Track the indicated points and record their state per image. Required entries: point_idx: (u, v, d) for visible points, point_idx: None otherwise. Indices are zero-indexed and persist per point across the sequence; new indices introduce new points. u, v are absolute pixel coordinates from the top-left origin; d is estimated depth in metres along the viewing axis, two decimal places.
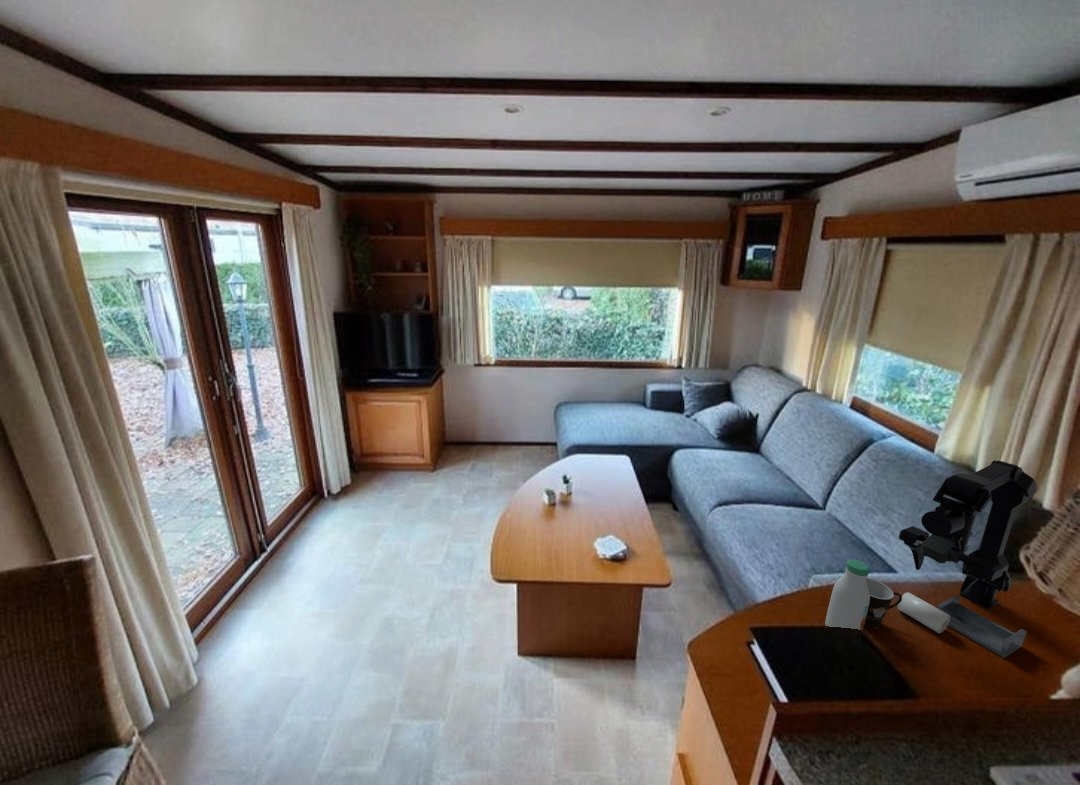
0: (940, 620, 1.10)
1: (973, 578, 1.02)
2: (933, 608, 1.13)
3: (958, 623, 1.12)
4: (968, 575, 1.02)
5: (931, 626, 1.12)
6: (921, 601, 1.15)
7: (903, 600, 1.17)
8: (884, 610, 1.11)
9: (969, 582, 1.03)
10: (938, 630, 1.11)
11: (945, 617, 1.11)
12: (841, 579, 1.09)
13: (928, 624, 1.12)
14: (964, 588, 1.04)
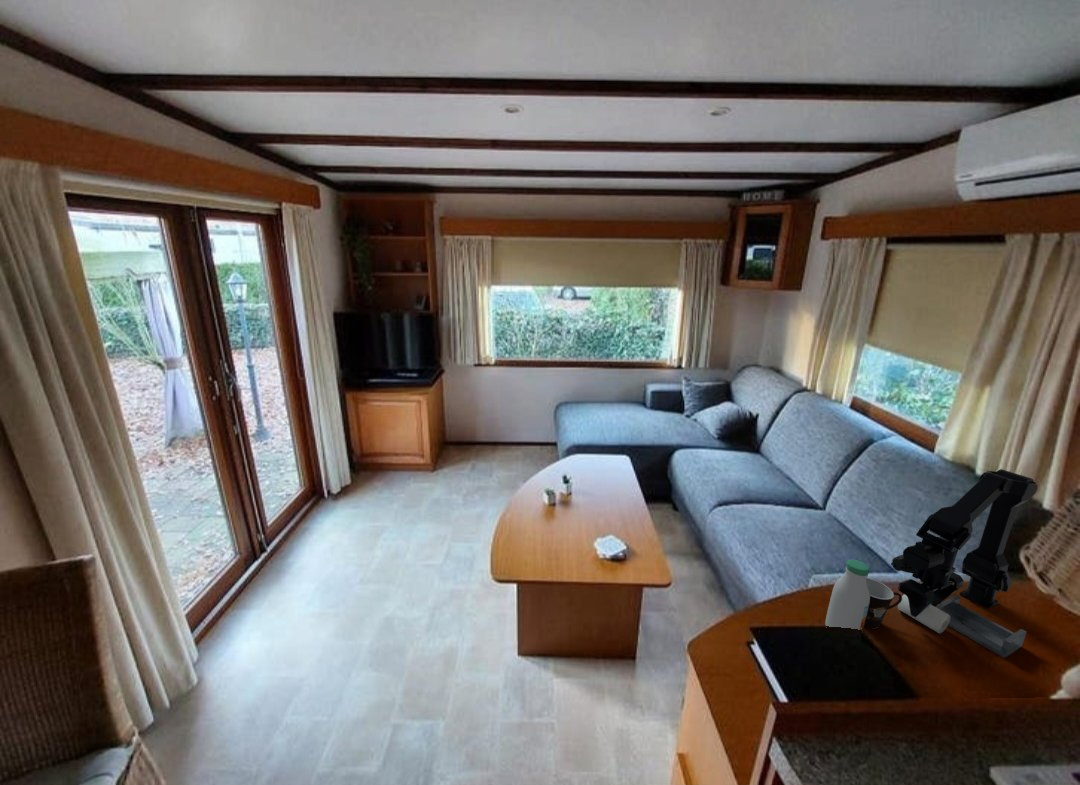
0: (940, 620, 1.10)
1: None
2: (933, 608, 1.13)
3: (958, 623, 1.12)
4: None
5: (931, 626, 1.12)
6: None
7: (903, 600, 1.17)
8: (884, 610, 1.11)
9: None
10: (938, 630, 1.11)
11: (945, 617, 1.11)
12: (841, 579, 1.09)
13: (928, 624, 1.12)
14: (910, 609, 1.14)
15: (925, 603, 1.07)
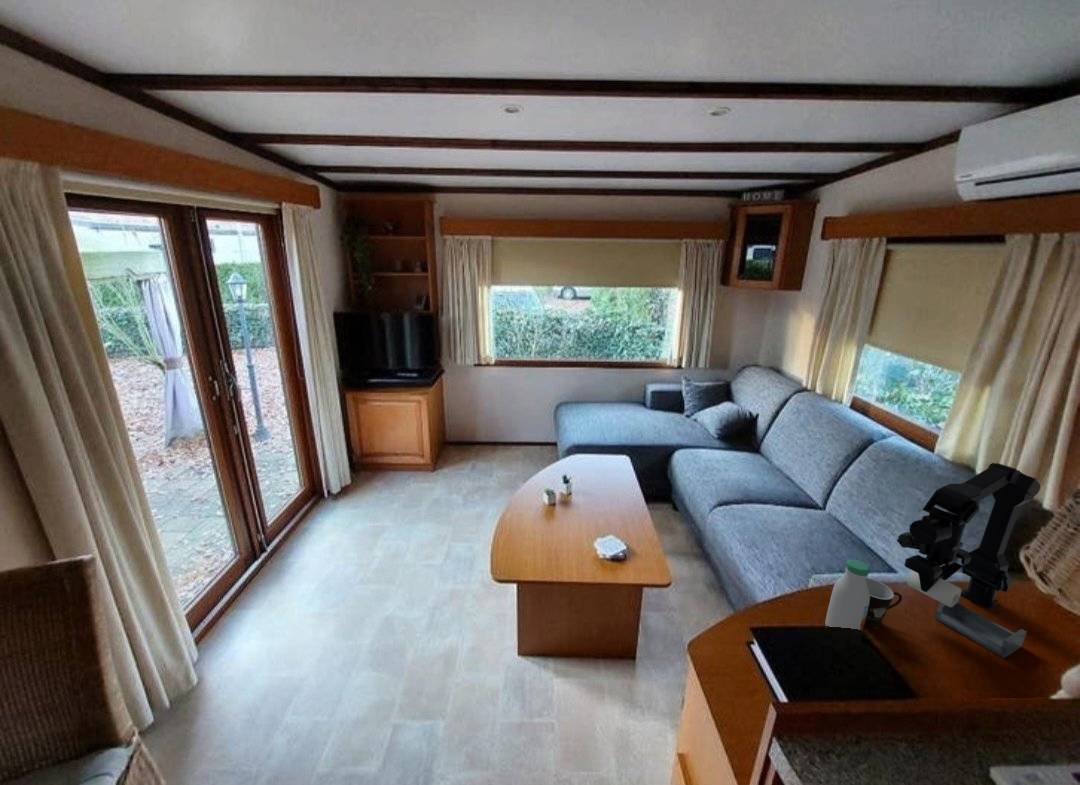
0: (952, 591, 1.08)
1: None
2: (944, 581, 1.10)
3: (958, 623, 1.12)
4: None
5: (942, 598, 1.09)
6: None
7: (913, 573, 1.15)
8: (885, 610, 1.11)
9: None
10: (949, 602, 1.08)
11: (957, 590, 1.08)
12: (841, 579, 1.09)
13: (939, 596, 1.09)
14: (920, 584, 1.12)
15: (932, 578, 1.05)
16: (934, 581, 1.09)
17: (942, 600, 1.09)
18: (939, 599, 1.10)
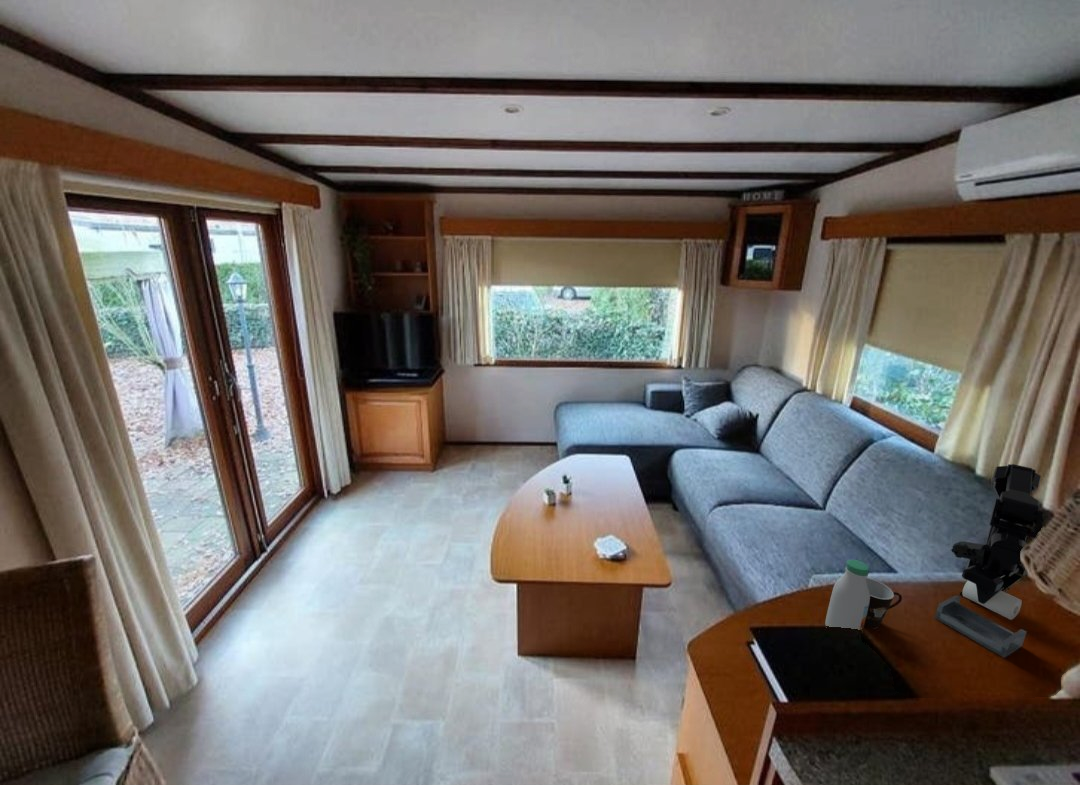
0: (1013, 604, 1.04)
1: None
2: (1003, 592, 1.07)
3: (958, 623, 1.12)
4: None
5: (1002, 611, 1.06)
6: None
7: (969, 584, 1.11)
8: (885, 610, 1.11)
9: None
10: (1010, 615, 1.05)
11: (1018, 602, 1.05)
12: (841, 579, 1.09)
13: (998, 608, 1.06)
14: (978, 595, 1.09)
15: (994, 590, 1.02)
16: (994, 593, 1.05)
17: (1002, 612, 1.06)
18: (999, 611, 1.06)
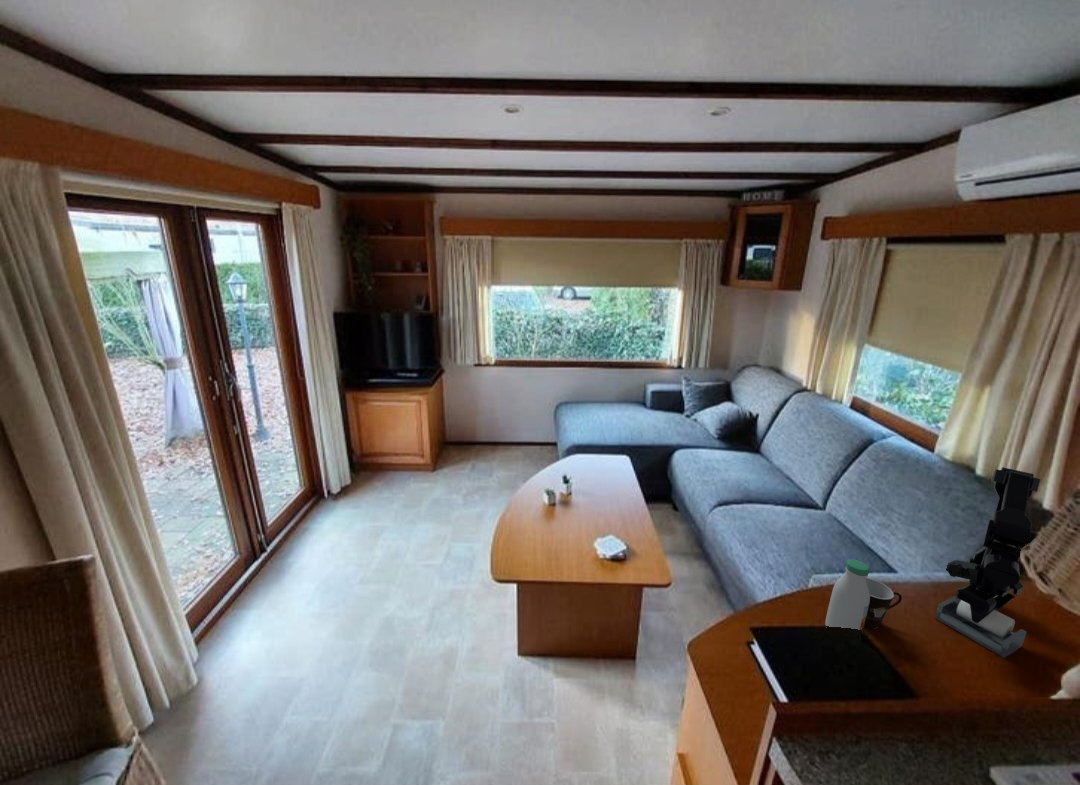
0: (1006, 624, 1.06)
1: None
2: (997, 612, 1.09)
3: (958, 623, 1.12)
4: None
5: (996, 630, 1.07)
6: None
7: (963, 603, 1.13)
8: (884, 610, 1.11)
9: None
10: (1003, 635, 1.06)
11: (1011, 621, 1.06)
12: (841, 579, 1.09)
13: (992, 628, 1.08)
14: (971, 614, 1.10)
15: (987, 611, 1.03)
16: (987, 613, 1.07)
17: (995, 632, 1.07)
18: (992, 631, 1.08)
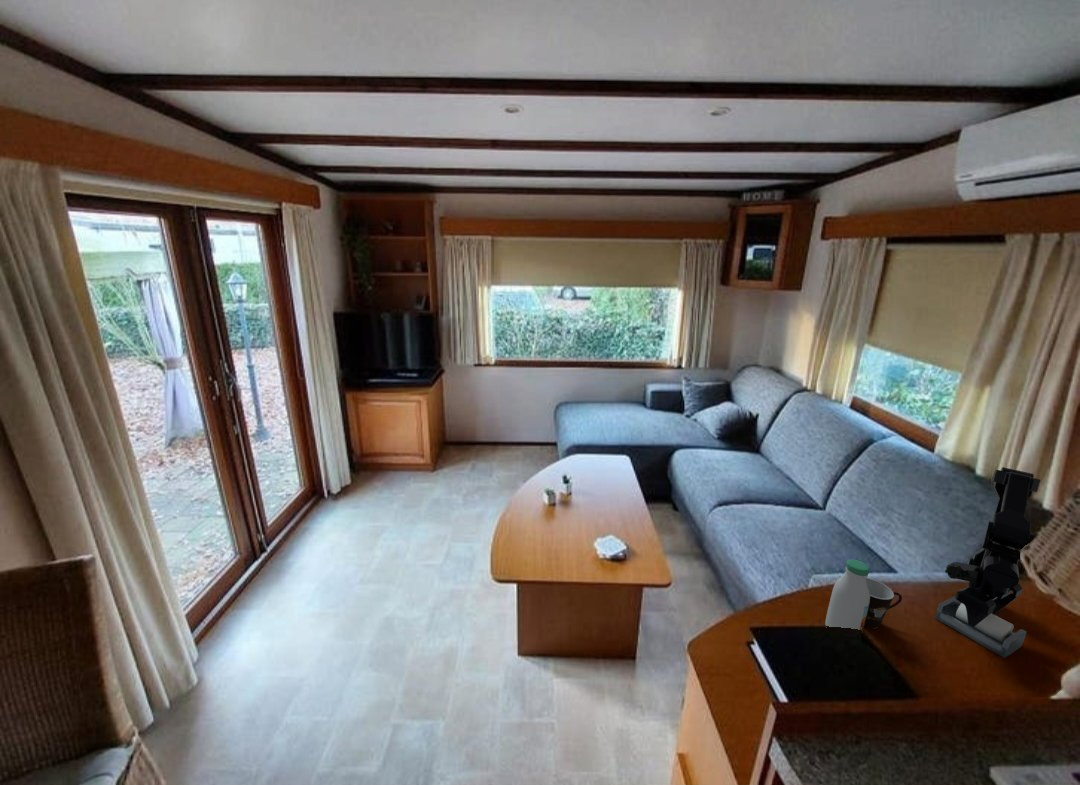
0: (1005, 628, 1.06)
1: None
2: (996, 617, 1.09)
3: (958, 623, 1.12)
4: None
5: (995, 635, 1.07)
6: None
7: (963, 607, 1.13)
8: (885, 610, 1.11)
9: None
10: (1002, 639, 1.06)
11: (1010, 626, 1.07)
12: (841, 579, 1.09)
13: (991, 632, 1.08)
14: (968, 618, 1.10)
15: (986, 613, 1.04)
16: (983, 617, 1.06)
17: (994, 636, 1.07)
18: (991, 635, 1.08)
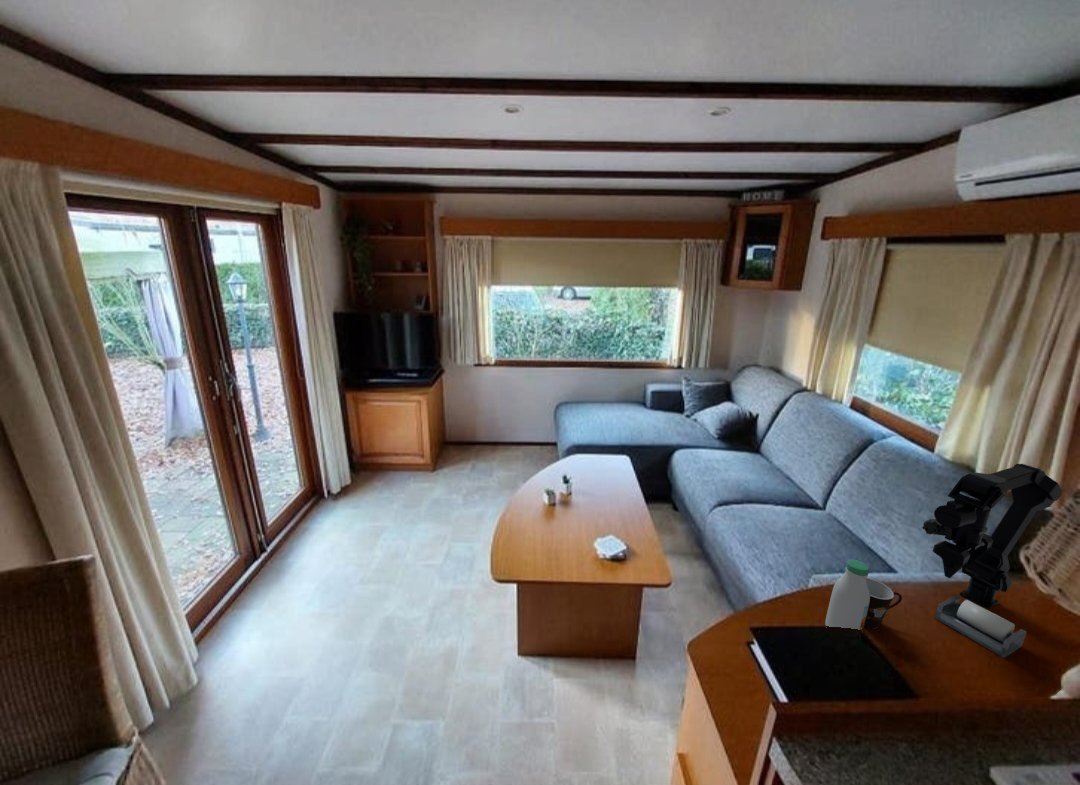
0: (1008, 626, 1.06)
1: None
2: (998, 616, 1.09)
3: (958, 623, 1.12)
4: None
5: (996, 632, 1.07)
6: (984, 609, 1.12)
7: (965, 605, 1.13)
8: (884, 610, 1.11)
9: None
10: (1003, 637, 1.06)
11: (1012, 625, 1.07)
12: (841, 579, 1.09)
13: (993, 630, 1.08)
14: (944, 570, 1.15)
15: (962, 563, 1.09)
16: (959, 567, 1.12)
17: (996, 634, 1.07)
18: (992, 633, 1.08)
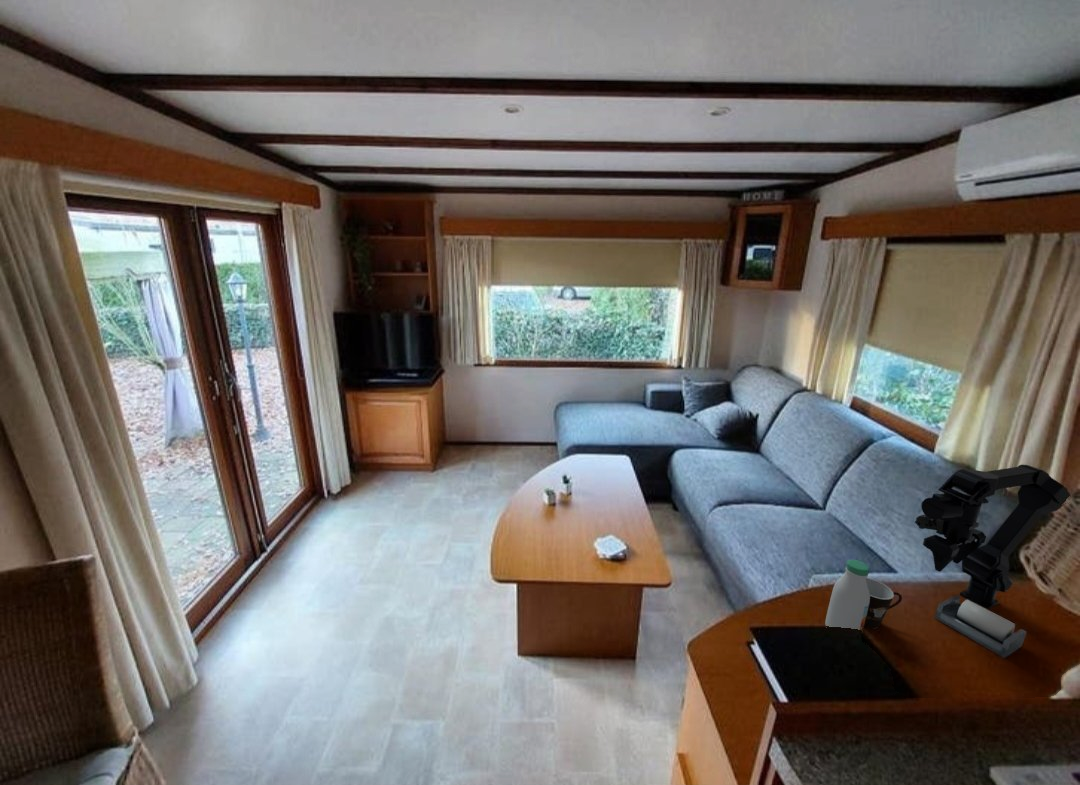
0: (1008, 625, 1.07)
1: None
2: None
3: (958, 623, 1.12)
4: None
5: (997, 631, 1.07)
6: (985, 609, 1.12)
7: (966, 604, 1.14)
8: (885, 610, 1.11)
9: None
10: (1004, 636, 1.07)
11: (1012, 625, 1.07)
12: (841, 579, 1.09)
13: (993, 629, 1.08)
14: (934, 564, 1.18)
15: (950, 556, 1.11)
16: (948, 561, 1.14)
17: (996, 633, 1.08)
18: (993, 632, 1.08)
